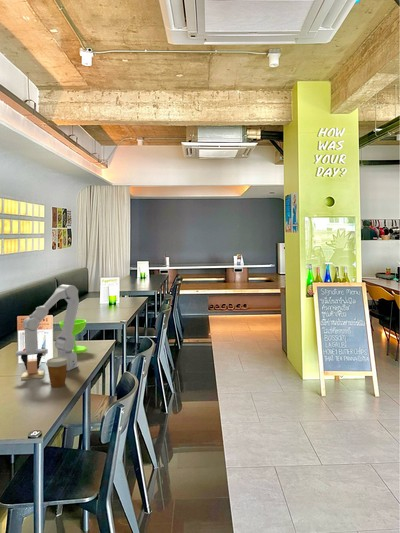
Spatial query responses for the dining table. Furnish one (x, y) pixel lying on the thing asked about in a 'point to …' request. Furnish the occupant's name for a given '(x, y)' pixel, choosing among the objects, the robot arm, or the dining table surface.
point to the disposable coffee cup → (57, 371)
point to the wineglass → (77, 328)
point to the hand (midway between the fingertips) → (32, 368)
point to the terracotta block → (32, 366)
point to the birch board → (32, 375)
